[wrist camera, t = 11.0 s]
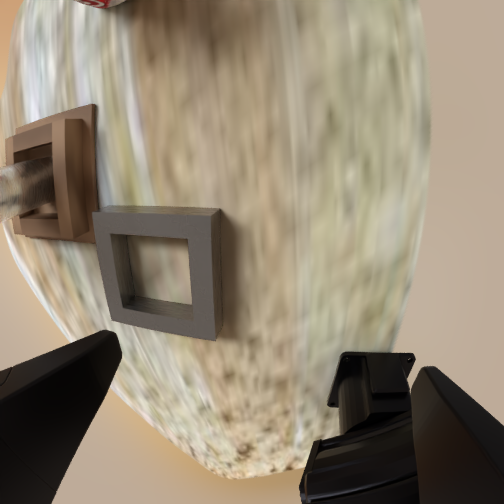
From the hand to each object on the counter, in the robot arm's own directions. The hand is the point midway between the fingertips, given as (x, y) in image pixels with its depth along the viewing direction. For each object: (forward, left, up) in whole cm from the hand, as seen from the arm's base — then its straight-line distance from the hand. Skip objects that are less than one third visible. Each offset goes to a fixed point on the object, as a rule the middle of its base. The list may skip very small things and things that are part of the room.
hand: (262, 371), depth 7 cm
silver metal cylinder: (+4, +20, -12) cm, 23 cm away
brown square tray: (+4, +20, -12) cm, 24 cm away
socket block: (-3, +9, -12) cm, 15 cm away
